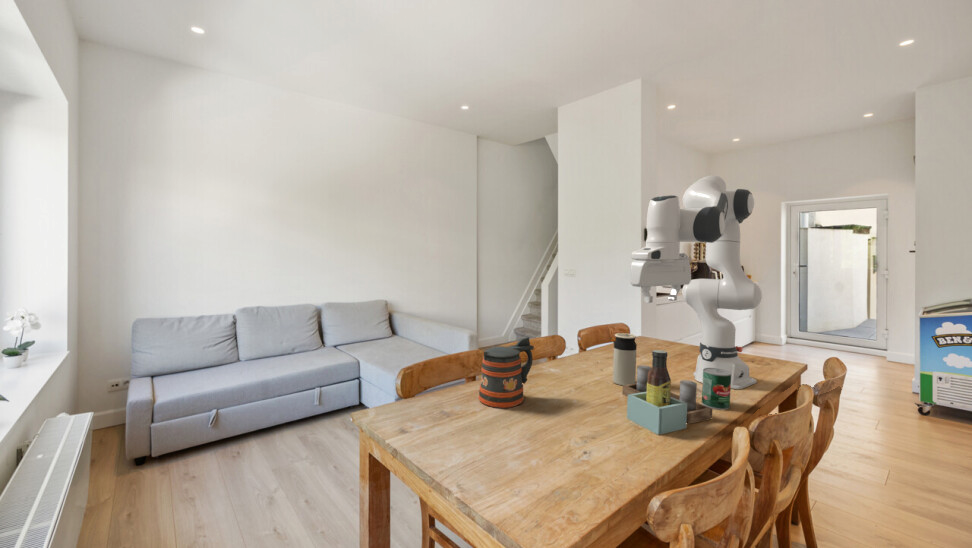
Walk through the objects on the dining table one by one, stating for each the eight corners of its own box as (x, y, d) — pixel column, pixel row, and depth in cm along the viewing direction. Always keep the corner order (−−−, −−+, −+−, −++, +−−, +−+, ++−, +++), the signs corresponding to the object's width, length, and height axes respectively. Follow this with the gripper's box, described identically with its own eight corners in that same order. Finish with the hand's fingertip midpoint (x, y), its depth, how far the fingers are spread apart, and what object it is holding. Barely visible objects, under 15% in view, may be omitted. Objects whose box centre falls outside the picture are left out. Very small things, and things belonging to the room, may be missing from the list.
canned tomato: (724, 411, 123) (725, 376, 122) (697, 404, 129) (698, 370, 128) (733, 405, 128) (735, 372, 127) (707, 398, 134) (709, 366, 133)
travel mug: (612, 385, 146) (614, 336, 145) (612, 378, 154) (614, 332, 153) (635, 387, 144) (637, 338, 143) (634, 380, 152) (636, 333, 151)
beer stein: (516, 387, 143) (517, 331, 142) (543, 400, 130) (544, 339, 129) (470, 396, 133) (471, 337, 131) (494, 412, 120) (495, 346, 119)
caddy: (653, 412, 121) (654, 390, 121) (686, 428, 111) (687, 403, 110) (626, 418, 117) (627, 394, 117) (658, 434, 106) (659, 409, 106)
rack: (644, 390, 141) (645, 362, 141) (712, 418, 117) (713, 385, 117) (622, 393, 137) (623, 365, 137) (687, 424, 113) (689, 389, 113)
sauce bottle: (666, 426, 110) (668, 355, 109) (642, 420, 114) (644, 351, 113) (671, 419, 115) (674, 350, 114) (649, 413, 119) (651, 347, 118)
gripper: (679, 252, 120) (677, 298, 121) (626, 253, 112) (625, 302, 113) (697, 253, 115) (696, 300, 115) (644, 253, 106) (642, 305, 107)
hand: (660, 301), depth 114 cm, fingers open, 8 cm apart
